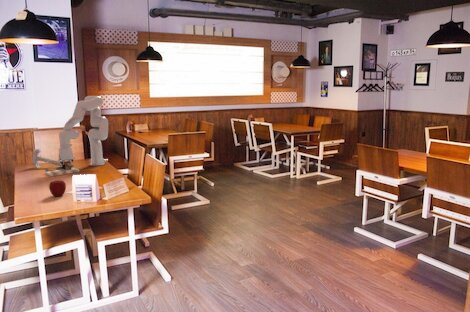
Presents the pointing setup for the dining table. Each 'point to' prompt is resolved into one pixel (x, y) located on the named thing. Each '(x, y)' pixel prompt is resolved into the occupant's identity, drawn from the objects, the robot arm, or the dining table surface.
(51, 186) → the apple
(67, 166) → the brown block with stick
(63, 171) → the board
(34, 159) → the hammer
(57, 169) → the rail
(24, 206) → the dining table surface
